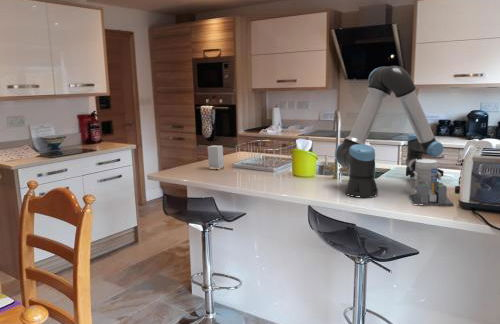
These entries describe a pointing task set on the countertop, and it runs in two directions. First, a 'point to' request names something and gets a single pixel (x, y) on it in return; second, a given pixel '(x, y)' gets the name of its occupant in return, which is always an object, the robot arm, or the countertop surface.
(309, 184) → the countertop surface
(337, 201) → the countertop surface
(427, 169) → the supplement tub
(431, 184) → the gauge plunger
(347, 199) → the countertop surface
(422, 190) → the grey notched block
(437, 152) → the robot arm
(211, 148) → the skincare box
